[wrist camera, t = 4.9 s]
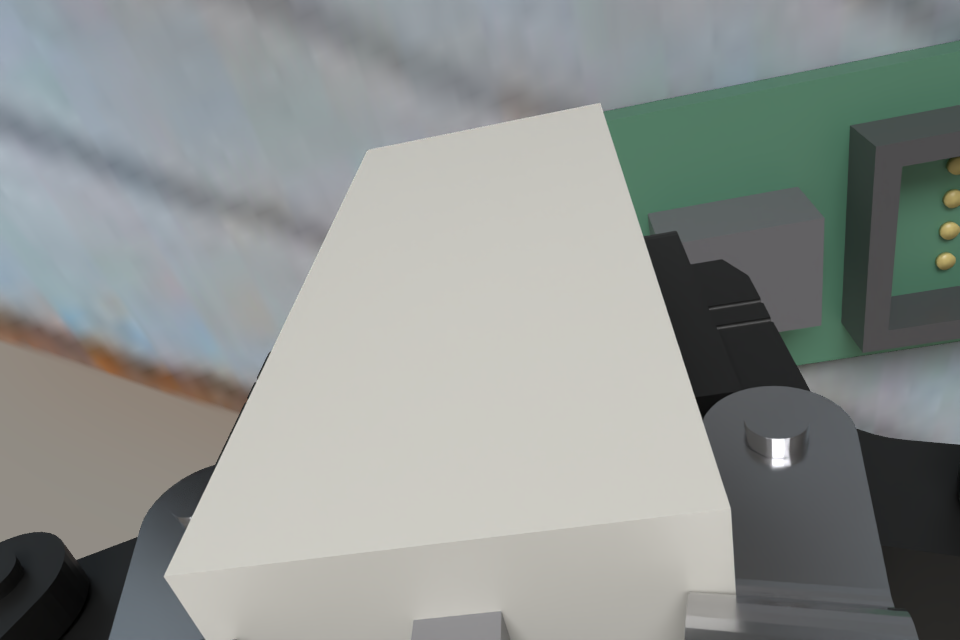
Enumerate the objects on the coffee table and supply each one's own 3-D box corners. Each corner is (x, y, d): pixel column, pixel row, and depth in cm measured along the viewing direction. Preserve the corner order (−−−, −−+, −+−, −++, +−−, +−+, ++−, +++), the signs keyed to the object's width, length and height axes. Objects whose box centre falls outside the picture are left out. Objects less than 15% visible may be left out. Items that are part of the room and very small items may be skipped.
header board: (1128, 6, 23) (1220, 30, 20) (1060, 309, 29) (1124, 363, 26) (602, 111, 25) (615, 147, 22) (636, 373, 31) (650, 429, 28)
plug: (599, 103, 11) (769, 632, 4) (633, 344, 13) (777, 971, 6) (367, 149, 12) (108, 693, 4) (436, 375, 14) (346, 984, 6)
